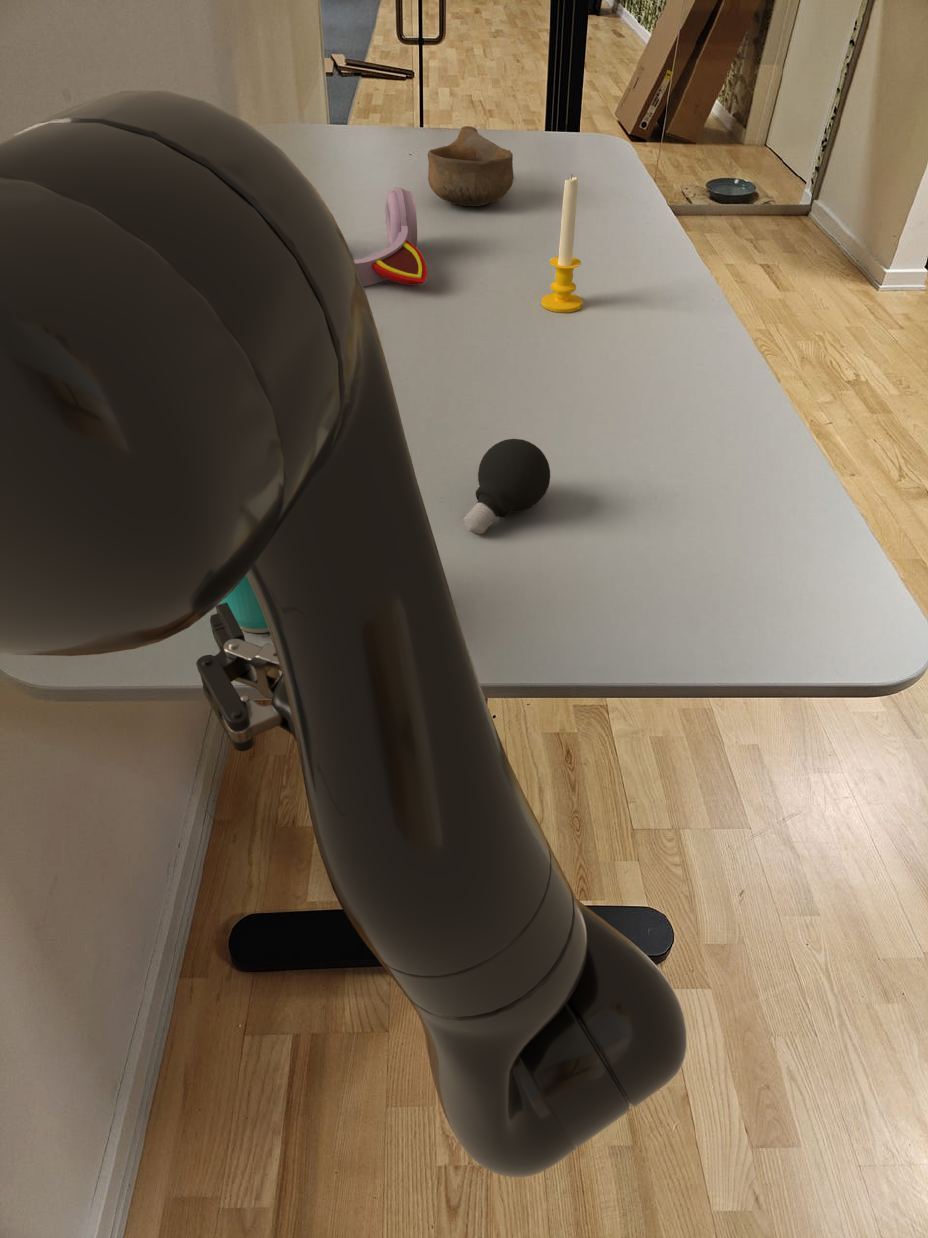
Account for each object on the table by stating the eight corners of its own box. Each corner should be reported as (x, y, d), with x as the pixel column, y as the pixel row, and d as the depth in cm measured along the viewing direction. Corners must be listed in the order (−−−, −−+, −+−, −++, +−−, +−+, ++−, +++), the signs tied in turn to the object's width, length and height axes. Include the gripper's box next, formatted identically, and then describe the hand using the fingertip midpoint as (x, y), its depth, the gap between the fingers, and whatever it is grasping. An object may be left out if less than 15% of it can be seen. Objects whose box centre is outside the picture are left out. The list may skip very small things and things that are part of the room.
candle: (534, 307, 115) (542, 176, 105) (550, 293, 119) (559, 164, 108) (573, 315, 113) (585, 182, 103) (588, 300, 117) (601, 170, 107)
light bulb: (437, 493, 77) (504, 412, 80) (442, 530, 83) (504, 453, 86) (499, 531, 75) (566, 446, 78) (500, 566, 81) (562, 486, 84)
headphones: (407, 181, 127) (430, 210, 111) (410, 255, 133) (433, 292, 117) (263, 189, 124) (267, 220, 108) (273, 264, 130) (278, 304, 114)
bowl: (405, 174, 151) (419, 108, 145) (483, 194, 156) (501, 130, 150) (427, 209, 138) (444, 137, 132) (512, 228, 143) (532, 161, 137)
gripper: (509, 674, 49) (383, 516, 59) (251, 773, 44) (164, 581, 54) (504, 764, 54) (389, 603, 64) (272, 862, 49) (189, 670, 59)
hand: (286, 593), depth 59 cm, fingers open, 8 cm apart
